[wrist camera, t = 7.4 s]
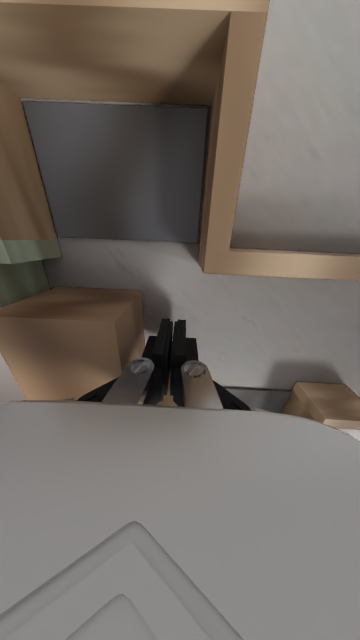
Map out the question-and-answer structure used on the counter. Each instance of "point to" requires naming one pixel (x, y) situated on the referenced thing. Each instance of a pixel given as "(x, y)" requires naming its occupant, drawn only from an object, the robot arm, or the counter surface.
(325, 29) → the counter surface
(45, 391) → the block
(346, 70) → the counter surface
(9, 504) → the robot arm
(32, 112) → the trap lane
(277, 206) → the counter surface
